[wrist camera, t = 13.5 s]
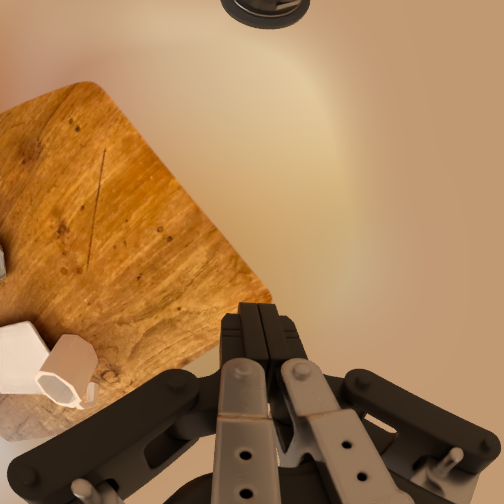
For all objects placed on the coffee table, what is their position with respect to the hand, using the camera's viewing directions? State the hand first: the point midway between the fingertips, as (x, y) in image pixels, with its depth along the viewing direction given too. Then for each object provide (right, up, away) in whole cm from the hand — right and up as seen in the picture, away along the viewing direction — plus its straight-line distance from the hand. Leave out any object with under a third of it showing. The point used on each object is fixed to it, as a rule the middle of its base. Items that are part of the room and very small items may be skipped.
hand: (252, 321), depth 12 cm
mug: (-30, -16, +29) cm, 45 cm away
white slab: (-49, -19, +28) cm, 60 cm away
